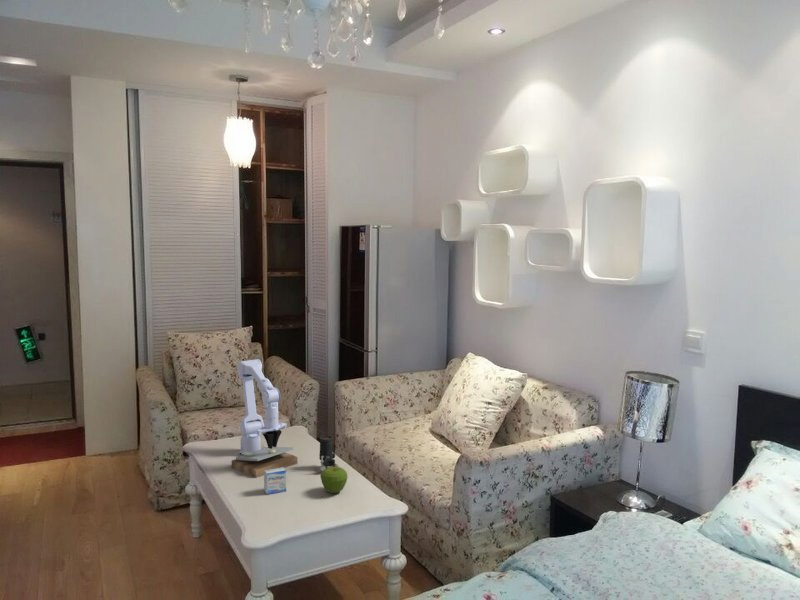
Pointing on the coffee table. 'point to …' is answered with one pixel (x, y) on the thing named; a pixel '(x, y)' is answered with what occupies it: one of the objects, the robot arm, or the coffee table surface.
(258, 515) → the coffee table surface
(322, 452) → the scope
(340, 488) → the apple
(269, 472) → the medicine box
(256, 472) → the walnut base
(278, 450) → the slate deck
